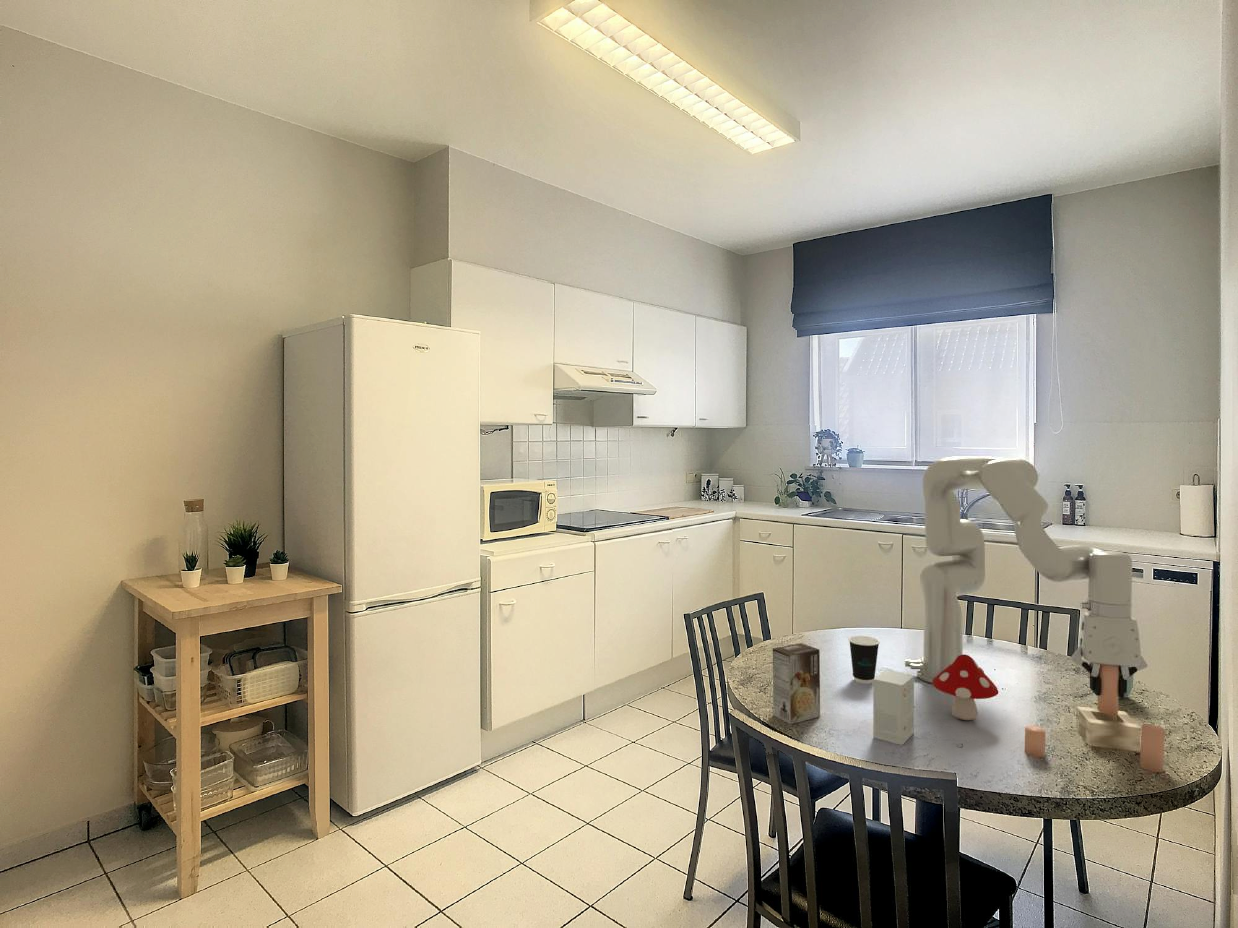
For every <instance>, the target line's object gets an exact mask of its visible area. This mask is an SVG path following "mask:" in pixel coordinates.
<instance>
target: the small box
mask: <svg viewBox="0 0 1238 928" xmlns="http://www.w3.org/2000/svg"><path fill="white" fill-rule="evenodd" d="M872 685H873V686H872V687H873V688H872V690H873V693H872V694H873V695H872V699H873V705H872V706H873V707H872V708H873V713H872V714H873V715H872V716H873V717H872V718H873V719H872V720H873V729H872V730H873V732H872V733H873V734H872V736H873V738H874V739H877V740H881V741H885V742H889V743H891V744H896V745H899V746H903V745H904V744H905V743H906V742H907V741H908V740H909V739H910V738H911V737H912V735H913V734H914V733H915V730H914V729H915V716H914V715H915V707H914V706H915V675H913V674H909V673H905V672H901V671H896V670H889V669H885V670H884V671H882V672H880V674H878V675H877V676H875V678H874V679H873V683H872Z"/></svg>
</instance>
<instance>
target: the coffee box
mask: <svg viewBox="0 0 1238 928" xmlns="http://www.w3.org/2000/svg"><path fill="white" fill-rule="evenodd" d="M820 654H821V653H820V649H819V648H817V647H813V646H811V645H808V644H805V643H802V642H799V643H795V644H790V645H785V646H779V647H774V648H772V694H773V695H772V715H773V716H774V717H776V718H778V719H780V720H781V721H784V722H785V723H788V724H789V725H793V724H794V725H795V724H797V723H802V722H805V721H808V720H812V719H817V718H820V717H821V698H820V697H821V689H820V688H821V675H820V674H821V673H820V672H821V670H820V668H821V667H820V665H821V663H820V662H821V661H820V660H821V659H820V657H821V656H820Z"/></svg>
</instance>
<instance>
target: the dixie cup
mask: <svg viewBox="0 0 1238 928" xmlns="http://www.w3.org/2000/svg"><path fill="white" fill-rule="evenodd" d="M848 641H849V648H850V649H849V650H850V658H851V665H852V666H851V667H852V677H853V680H854V682H856V683H859V684H867V685H868V684H873V679H874V678H876V671H877V669H876V668H877V662H878V651H879V644H880V643H881V641H880V640H879V639H878V638H876V637H872V636H867V635H854V636H853V635H852V636H849V638H848Z"/></svg>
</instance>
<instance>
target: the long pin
mask: <svg viewBox="0 0 1238 928" xmlns="http://www.w3.org/2000/svg"><path fill="white" fill-rule="evenodd" d="M1098 674H1099V677H1100V678H1101V695H1100V696H1097V708H1096V709H1097V710H1098V711H1099V712H1102V713H1105V714H1110V715H1116V714H1118V711H1119V698H1118V691H1119V666H1115V665H1104V664H1100V668H1099V673H1098Z"/></svg>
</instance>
